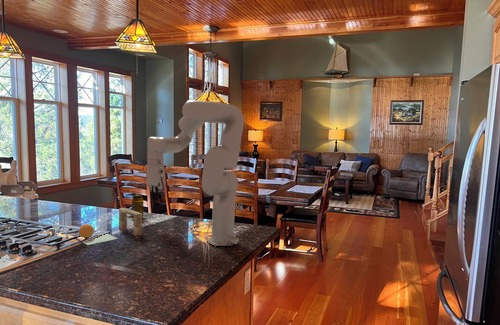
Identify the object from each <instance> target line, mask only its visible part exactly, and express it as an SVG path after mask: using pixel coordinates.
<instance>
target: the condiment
mask: <svg viewBox="0 0 500 325" xmlns="http://www.w3.org/2000/svg"><path fill="white" fill-rule="evenodd" d="M131 210H133V211H136V212H139V213H142V219H144V218H146V216H145V215H144V196H143V194H133V195H132V200H131ZM127 219H129V220H134V216H131V215H127Z"/></svg>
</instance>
